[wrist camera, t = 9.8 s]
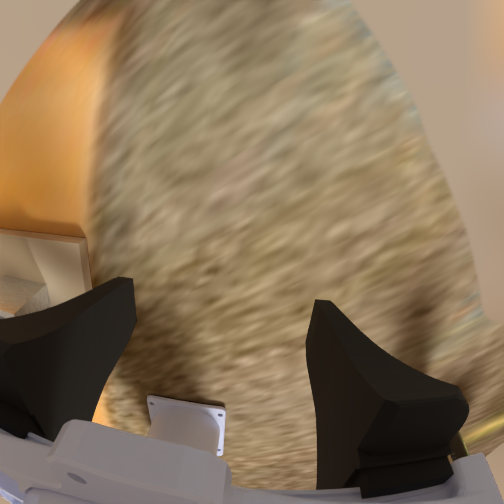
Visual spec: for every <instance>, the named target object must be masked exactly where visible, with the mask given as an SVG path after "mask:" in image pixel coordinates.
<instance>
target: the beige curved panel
mask: <svg viewBox="0 0 504 504" xmlns="http://www.w3.org/2000/svg"><path fill="white" fill-rule="evenodd" d="M4 275H7V276H11V277H16V278H20V279H25V280H29V281H34V282H39V283H44V284H47V289H48V293H49V298H50V302H51V307H53V306H56V305H58V304H61V303H63V302H65V301H68V300H70V299H72V298H74V297H77V296H79V295H81V294H83V293H85V292H87V291H89V290H91V289H92V282H91V275H90V267H89V259H88V249H87V239H86V238H80V237H72V236H63V235H54V234H45V233H36V232H27V231H19V230H10V229H1V228H0V278H2V277H3V276H4ZM0 319H4V317H2V316H0Z"/></svg>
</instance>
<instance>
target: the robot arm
mask: <svg viewBox="0 0 504 504" xmlns="http://www.w3.org/2000/svg"><path fill="white" fill-rule="evenodd" d="M136 322H137V318H136V308H135V298H134V286H133V278H126V277H117V278H114V279H112V280H110V281H107V282H105V283H103V284H101V285H99V286H97V287H95V288H93V289H91V290H89V291H87V292H85V293H83V294H81V295H79V296H77V297H74V298H72V299H70V300H68V301H65V302H63V303H61V304H58V305H56V306H53V307H50V308H47V309H44V310H41V311H37V312H33V313H29V314H25V315H21V316H16V317H11V318H4V319H0V496H1V497H2V498H4V499H5V500H7V501H9V502H10V503H11V504H504V502H503V499H502V497H501V494H500V491H499V489H498V486H497V484H496V482H495V479H494V477H493V474H492V472H491V469H490V467H489V465H488V463H487V460H486V458H485V456H484V454H483V453H482V452H480V453H477V454H473V455H470V456H466V457H463V458H459V459H457V460H455V461H453V462H452V463H450V462H449V459H448V457H447V456H449V455H450V454H451V448H450V446H449V442H450V441H451V440H452V439H453V437H454V436H455V435H456V434H457V432H458V431H459V430H460V428H461V427H462V426H463V424H464V423H465V421H466V419H467V417H468V414H469V405H468V403H467V401H466V399H465V398H464V396H463V394H462V392H461V390H460V389H459V387H458V386H455V385H452V384H449V383H446V382H443V381H440V380H438V379H435V378H432V377H430V376H428V375H426V374H423V373H421V372H419V371H417V370H415V369H413V368H411V367H409V366H408V365H406V364H404V363H403V362H401V361H399V360H397V359H396V358H394V357H393V356H391V355H390V354H388V353H387V352H386V351H384V350H383V349H381V348H380V347H379V346H377V345H376V344H375V343H374V342H373V341H371V340H370V339H369V338H368V337H367V336H366V335H364V334H363V333H362V332H361V331H360V330H359V329H358V328H357V327H356V326H355V325H354V324H353V323H352V322H351V321H350V320H349V319H348V318H347V317H346V316H345V315H344V314H343V313H342V312H341V311H340V310H339V309H338V308H337V307H336V305H335V304H333V303H332V302H331V301H328V300H316V299H315V303H314V307H313V312H312V316H311V320H310V325H309V329H308V333H307V338H306V361H307V368H308V373H309V379H310V384H311V389H312V395H313V400H314V406H315V413H316V429H317V486H316V490H268V489H251V488H244V487H240V486H235V485H231V478H232V472H231V470H230V468H229V466H228V464H227V462H225V461H224V460H223V459H221V458H219V457H218V456H221V455H223V446H224V431H225V417H226V409H225V408H224V407H221V406H213V405H206V404H199V403H193V402H186V401H180V400H175V399H169V398H164V397H158V396H153V395H148V397H147V404H148V409H149V414H150V419H151V423H152V424H151V427H150V430H149V433H148V436H147V437H146V436H142V435H138V434H134V433H130V432H126V431H122V430H118V429H115V428H111V427H107V426H104V425H101V424H97V423H94V422H91V421H92V418H93V415H94V412H95V409H96V406H97V403H98V401H99V398H100V395H101V393H102V390H103V388H104V385H105V383H106V381H107V379H108V377H109V376H110V374H111V372H112V370H113V368H114V367H115V365H116V363H117V361H118V360H119V358H120V356H121V354H122V352H123V351H124V349H125V347H126V345H127V344H128V342H129V340H130V337H131V335H132V332H133V330H134V327H135V324H136Z"/></svg>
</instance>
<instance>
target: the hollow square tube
mask: <svg viewBox="0 0 504 504" xmlns="http://www.w3.org/2000/svg"><path fill="white" fill-rule="evenodd" d="M50 307H51V302H50V298H49V293H48V289H47V284H44V283H39V282H34V281H29V280H25V279H20V278H16V277H11V276H7V275H4V276H3V277H2V278H0V316H2V317H4V318H11V317H16V316H21V315H25V314H29V313H33V312H37V311H41V310H44V309H47V308H50Z"/></svg>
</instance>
